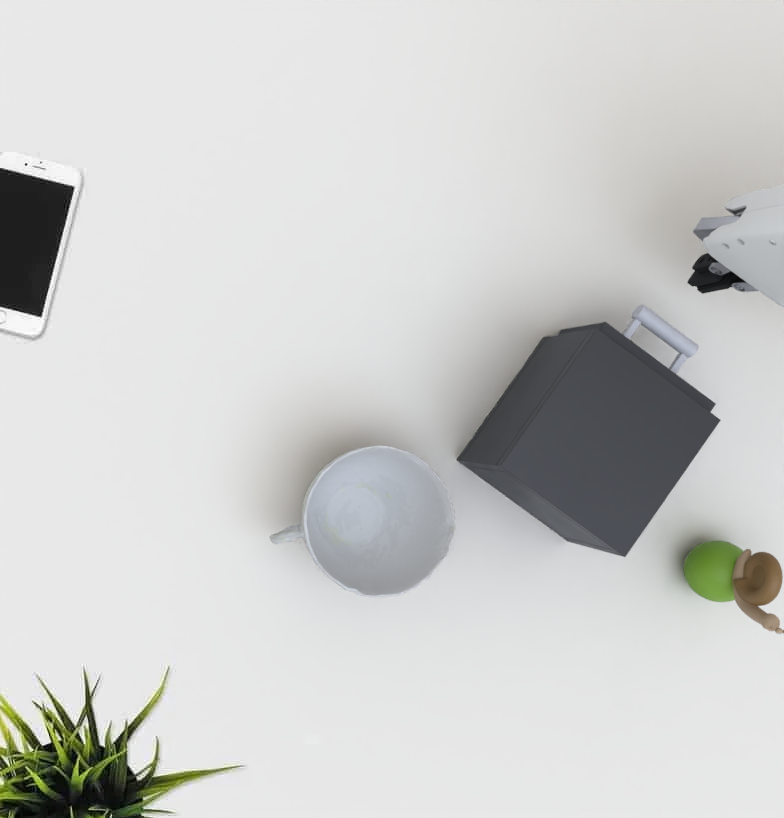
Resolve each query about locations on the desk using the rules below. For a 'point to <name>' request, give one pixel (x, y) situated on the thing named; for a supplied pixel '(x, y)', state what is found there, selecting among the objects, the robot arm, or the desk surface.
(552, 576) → the desk surface
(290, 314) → the desk surface
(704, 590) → the snail figurine
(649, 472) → the air fryer
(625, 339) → the fryer drawer
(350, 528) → the teacup
